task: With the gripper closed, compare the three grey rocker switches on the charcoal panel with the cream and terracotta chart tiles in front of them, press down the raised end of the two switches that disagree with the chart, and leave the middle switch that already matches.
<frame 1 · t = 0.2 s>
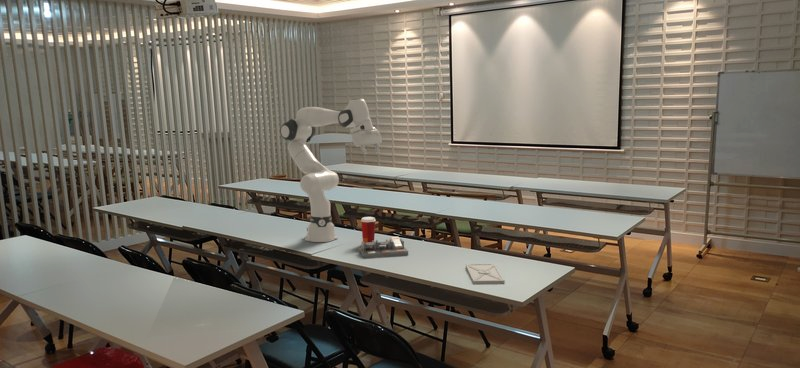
hand: (371, 153, 305), 52 cm above the table, tool tilted 20°, fingers open, 8 cm apart
envelope: (484, 276, 267), on the table
rocker b: (382, 243, 307), point 5 cm above the table, hinge at -17.0°
rocker a: (368, 244, 305), point 5 cm above the table, hinge at -17.0°
switch panel: (383, 252, 306), on the table
rocker c: (396, 242, 309), point 5 cm above the table, hinge at 17.0°
coffee cup: (368, 245, 323), on the table
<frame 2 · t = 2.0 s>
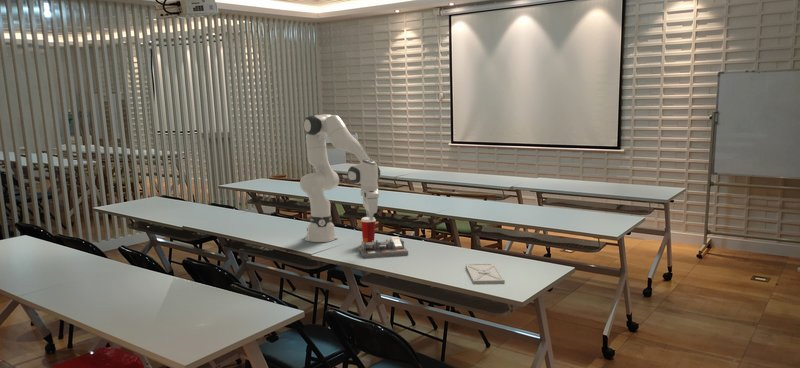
hand: (369, 218, 299), 19 cm above the table, tool pointing down, fingers open, 5 cm apart
nothing on the table moved.
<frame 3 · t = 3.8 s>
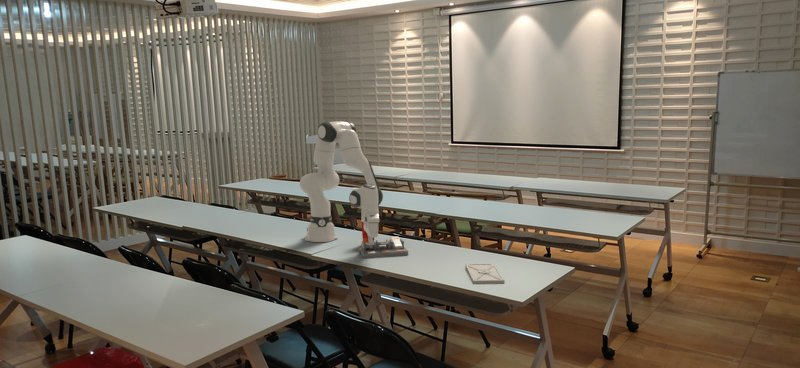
hand: (370, 242, 301), 7 cm above the table, tool pointing down, fingers closed, pressing on rocker a
rocker a: (368, 244, 305), point 5 cm above the table, hinge at -17.0°, touching gripper
everything else where it was.
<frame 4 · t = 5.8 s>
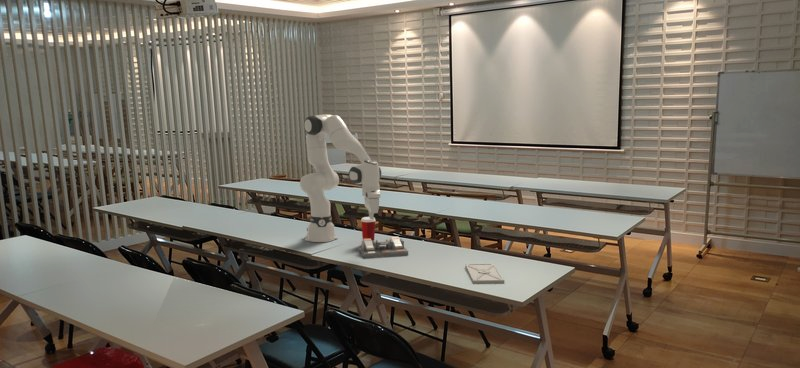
hand: (371, 218, 300), 19 cm above the table, tool pointing down, fingers closed
rocker a: (368, 244, 305), point 5 cm above the table, hinge at 16.0°
everything else where it was.
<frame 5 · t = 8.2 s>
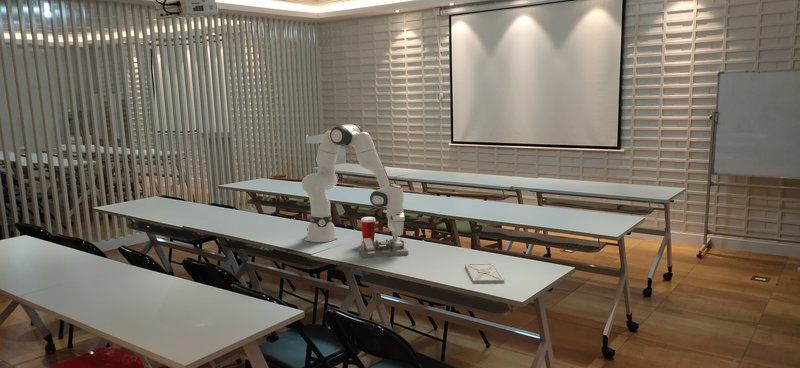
hand: (395, 239, 313), 5 cm above the table, tool pointing down, fingers closed, pressing on rocker c
rocker a: (368, 244, 305), point 5 cm above the table, hinge at 16.5°
rocker c: (396, 242, 309), point 5 cm above the table, hinge at -0.1°, touching gripper
everything else where it was.
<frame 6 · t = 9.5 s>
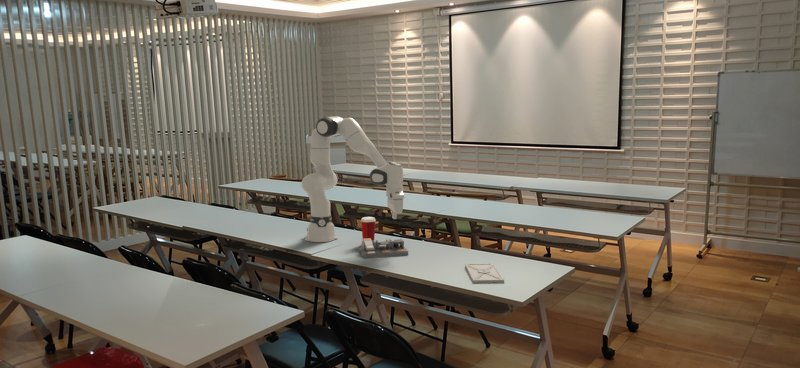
hand: (394, 218, 311), 17 cm above the table, tool pointing down, fingers closed
rocker c: (396, 242, 309), point 5 cm above the table, hinge at -24.4°, touching switch panel
everything else where it was.
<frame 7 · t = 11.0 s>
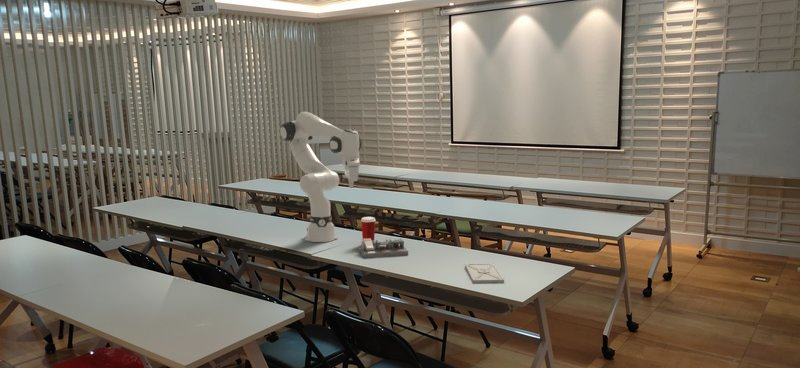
hand: (351, 187, 304), 34 cm above the table, tool pointing down, fingers closed
rocker c: (396, 242, 309), point 5 cm above the table, hinge at -23.9°
everything else where it was.
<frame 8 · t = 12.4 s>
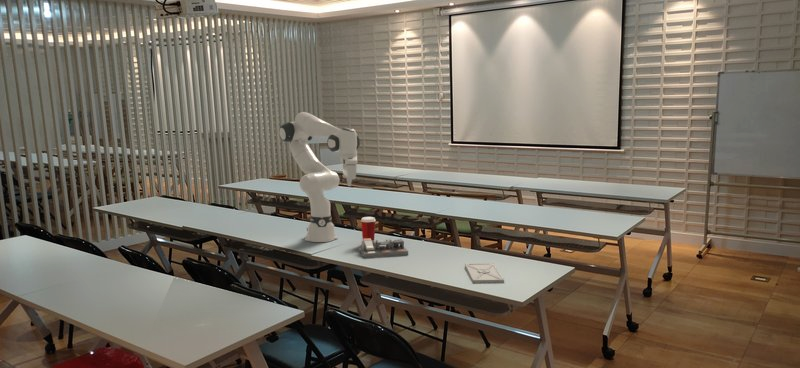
hand: (349, 185, 303), 35 cm above the table, tool pointing down, fingers closed
at the end: rocker a at +16° (first picture: -17°); rocker b at -17° (first picture: -17°); rocker c at -24° (first picture: +17°) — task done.
